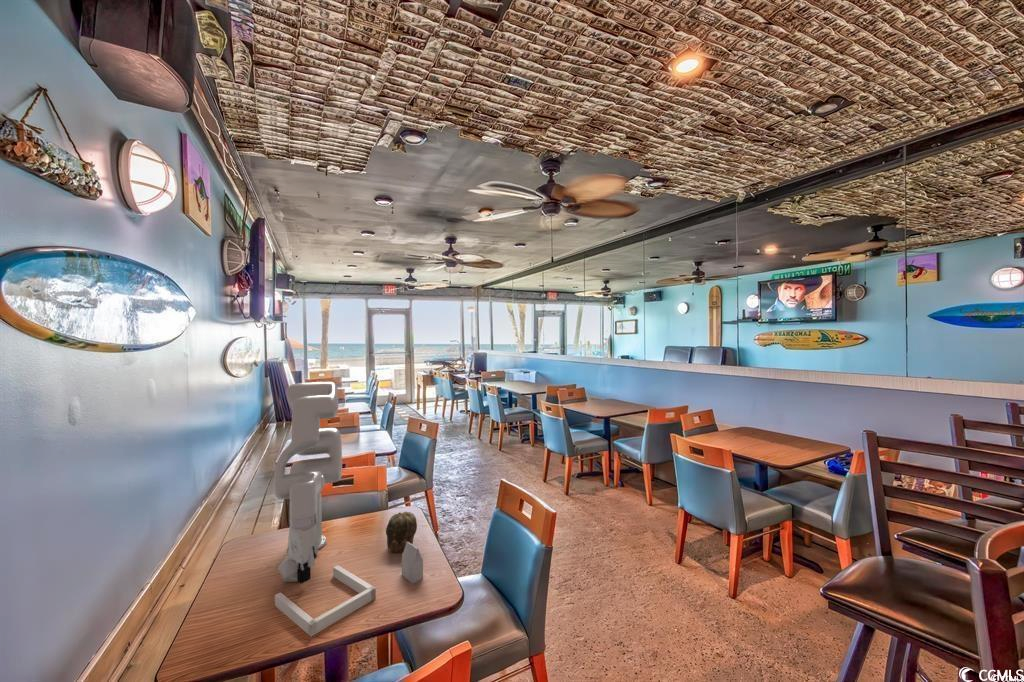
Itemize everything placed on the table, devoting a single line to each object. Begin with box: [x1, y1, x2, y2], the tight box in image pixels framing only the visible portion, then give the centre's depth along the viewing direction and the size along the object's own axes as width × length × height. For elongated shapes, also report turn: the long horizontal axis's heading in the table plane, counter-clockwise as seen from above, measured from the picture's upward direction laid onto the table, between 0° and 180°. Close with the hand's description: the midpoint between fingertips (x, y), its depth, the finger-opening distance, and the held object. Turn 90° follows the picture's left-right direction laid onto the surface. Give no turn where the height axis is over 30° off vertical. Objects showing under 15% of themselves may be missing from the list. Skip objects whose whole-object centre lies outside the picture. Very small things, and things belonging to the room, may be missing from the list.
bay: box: [274, 564, 377, 637], centre depth 116 cm, size 20×19×3 cm
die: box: [277, 554, 308, 583], centre depth 128 cm, size 8×9×10 cm
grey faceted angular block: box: [401, 541, 424, 584], centre depth 129 cm, size 4×7×10 cm, turn 44°
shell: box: [385, 511, 418, 554], centre depth 147 cm, size 11×11×12 cm
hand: (304, 580), depth 123 cm, fingers closed
